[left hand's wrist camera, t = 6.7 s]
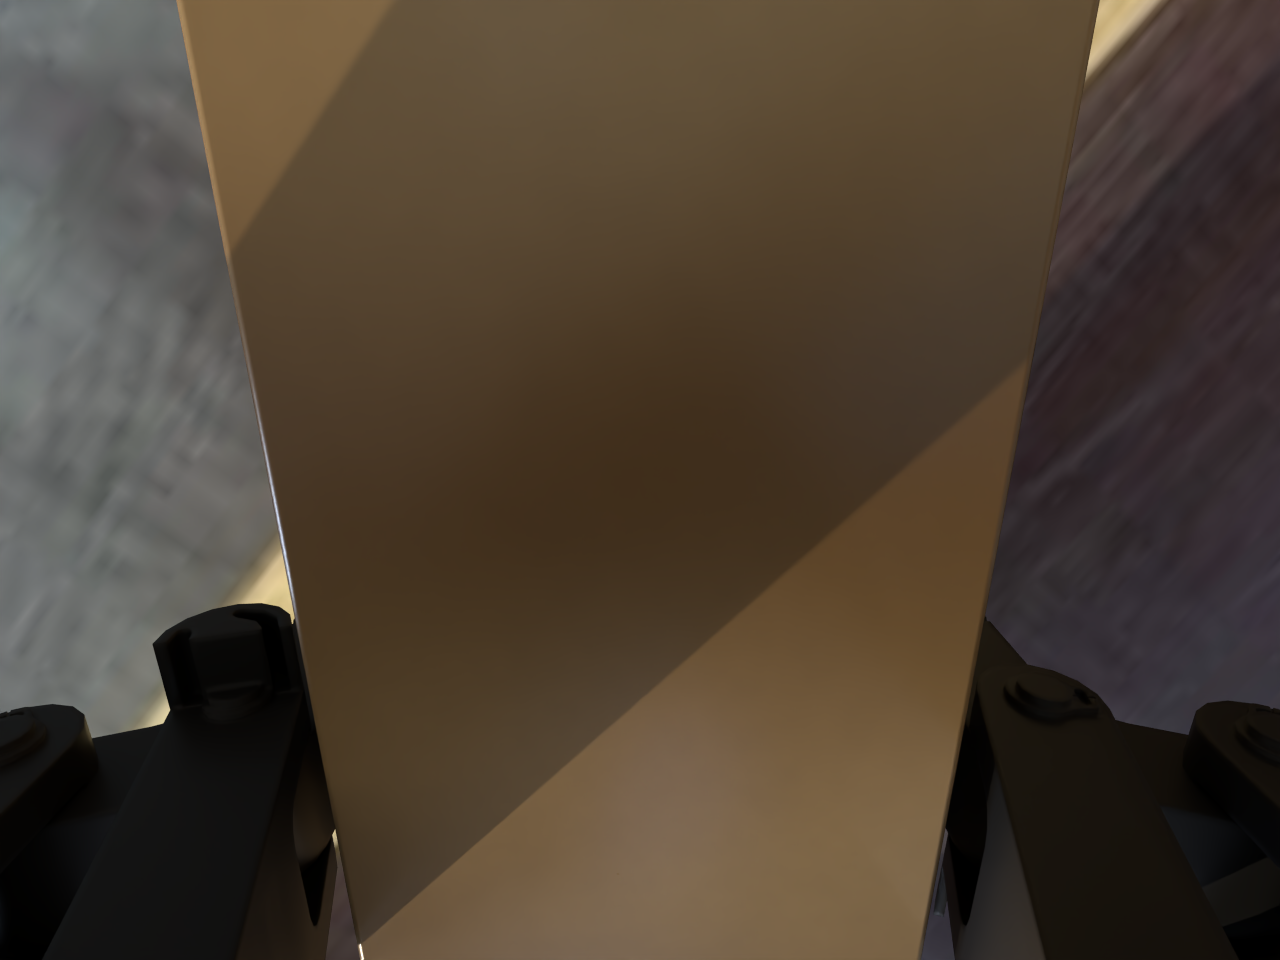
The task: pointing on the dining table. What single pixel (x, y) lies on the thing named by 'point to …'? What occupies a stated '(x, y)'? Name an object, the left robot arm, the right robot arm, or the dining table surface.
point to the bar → (639, 440)
